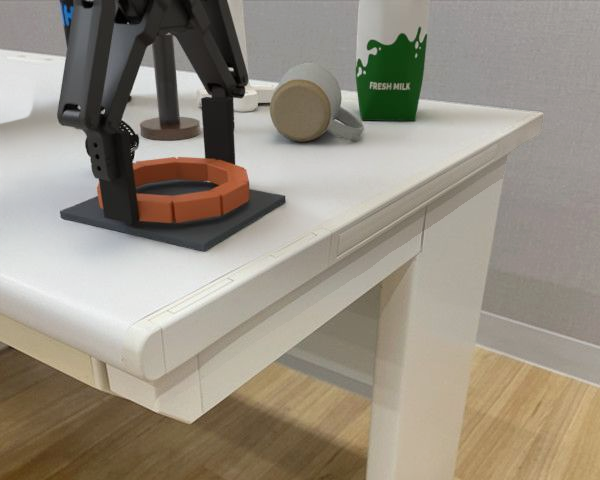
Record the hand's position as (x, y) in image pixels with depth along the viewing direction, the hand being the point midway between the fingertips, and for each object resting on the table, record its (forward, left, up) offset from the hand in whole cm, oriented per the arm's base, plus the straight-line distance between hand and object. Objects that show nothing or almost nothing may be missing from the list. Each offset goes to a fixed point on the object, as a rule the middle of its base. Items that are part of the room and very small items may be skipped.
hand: (176, 194), depth 52 cm
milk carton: (+2, +43, -2) cm, 43 cm away
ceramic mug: (-1, +28, -2) cm, 28 cm away
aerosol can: (-38, +32, -2) cm, 50 cm away
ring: (0, 0, 0) cm, 0 cm away
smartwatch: (-12, +6, -2) cm, 13 cm away
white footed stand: (-18, +38, -2) cm, 42 cm away
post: (-17, +21, -1) cm, 27 cm away
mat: (0, 0, -1) cm, 1 cm away
